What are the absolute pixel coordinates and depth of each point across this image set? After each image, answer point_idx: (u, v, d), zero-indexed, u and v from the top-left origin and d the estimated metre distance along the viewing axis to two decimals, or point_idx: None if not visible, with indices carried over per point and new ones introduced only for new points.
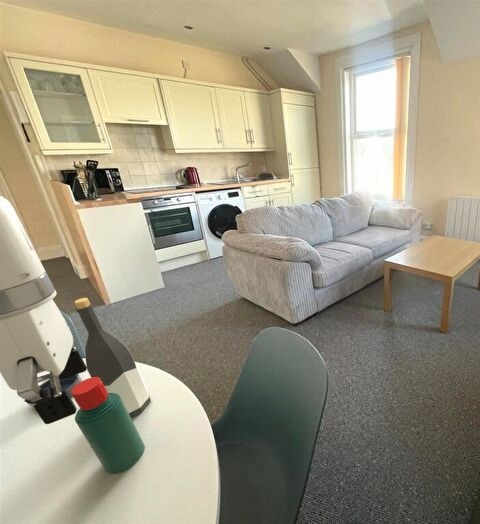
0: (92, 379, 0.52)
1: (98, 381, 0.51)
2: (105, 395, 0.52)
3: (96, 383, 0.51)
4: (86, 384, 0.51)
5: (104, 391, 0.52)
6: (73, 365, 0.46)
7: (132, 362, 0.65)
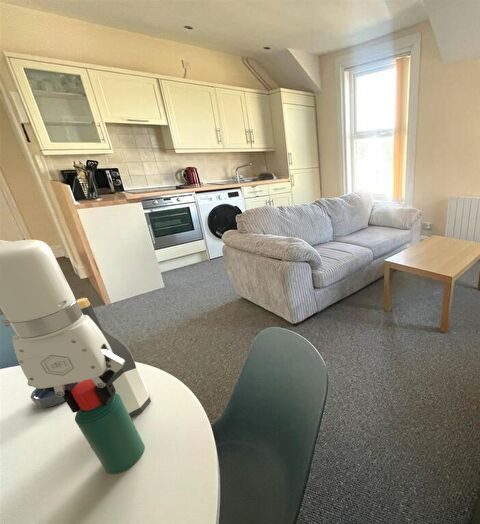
0: None
1: None
2: None
3: None
4: (86, 384, 0.51)
5: None
6: None
7: (132, 362, 0.65)
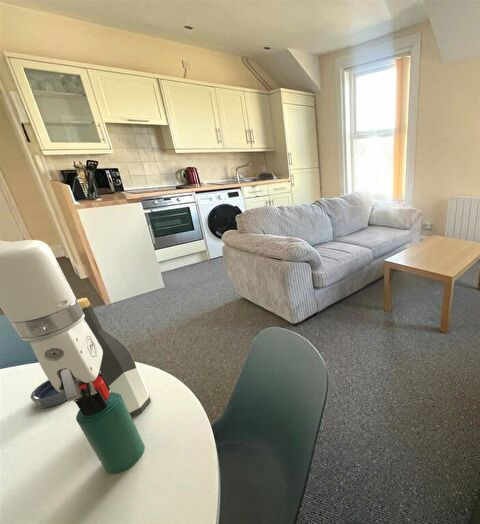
0: (78, 386, 0.50)
1: None
2: None
3: None
4: None
5: None
6: None
7: (132, 362, 0.65)
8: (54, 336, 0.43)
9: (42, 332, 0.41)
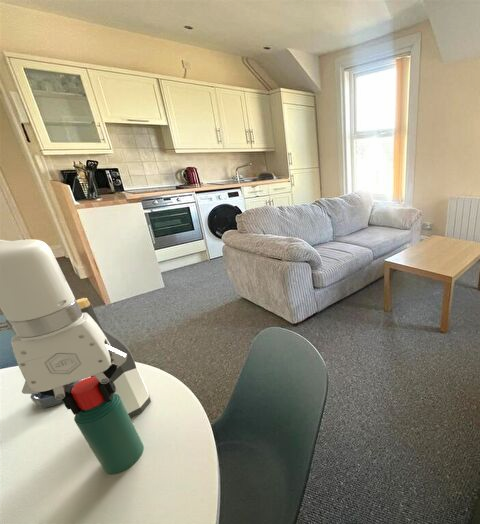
0: (75, 388, 0.50)
1: (80, 381, 0.51)
2: None
3: (84, 380, 0.51)
4: (83, 385, 0.50)
5: None
6: None
7: (132, 362, 0.65)
8: (15, 337, 0.43)
9: None
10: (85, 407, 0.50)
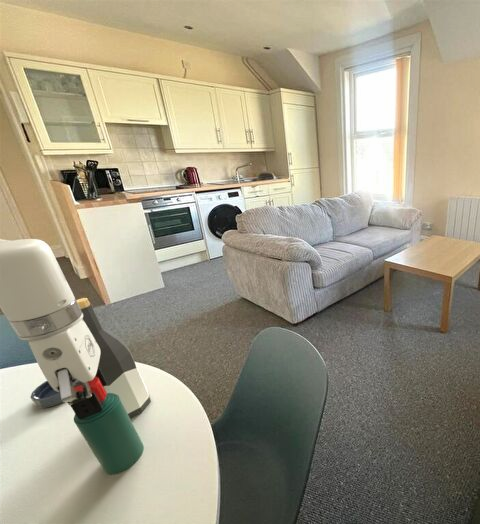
0: None
1: None
2: None
3: None
4: None
5: None
6: None
7: (132, 362, 0.65)
8: (53, 336, 0.43)
9: (41, 331, 0.41)
10: (104, 395, 0.52)
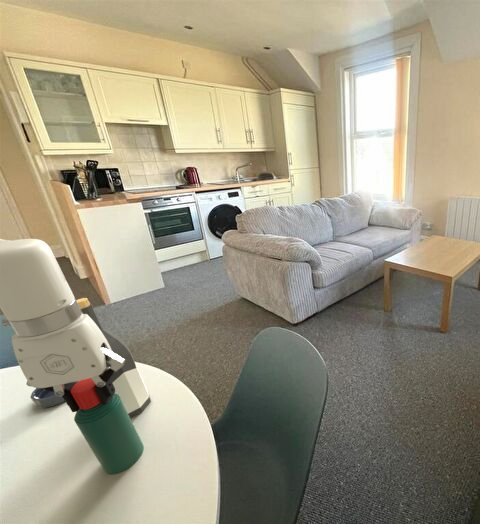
0: (84, 389, 0.49)
1: (73, 392, 0.49)
2: (78, 404, 0.50)
3: (73, 390, 0.49)
4: (86, 384, 0.50)
5: (76, 402, 0.50)
6: None
7: (132, 362, 0.65)
8: None
9: None
10: None
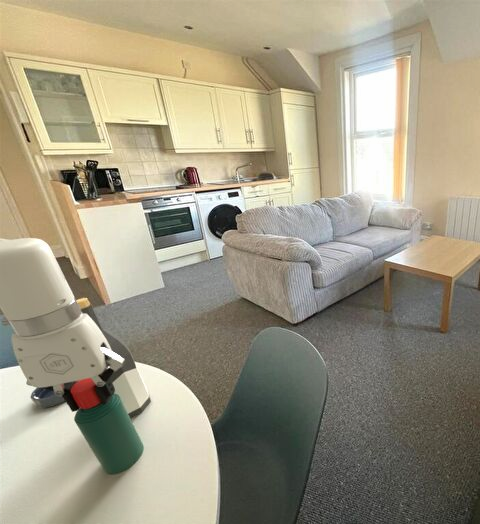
0: None
1: (93, 384, 0.50)
2: (98, 399, 0.51)
3: (90, 386, 0.50)
4: (86, 383, 0.50)
5: None
6: None
7: (132, 362, 0.65)
8: None
9: None
10: None
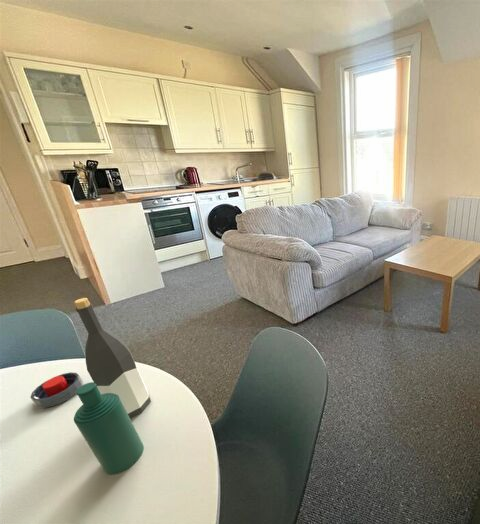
0: (45, 385, 0.71)
1: (47, 381, 0.73)
2: None
3: (49, 379, 0.73)
4: (52, 382, 0.72)
5: None
6: None
7: (132, 362, 0.65)
8: None
9: None
10: None
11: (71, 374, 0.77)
